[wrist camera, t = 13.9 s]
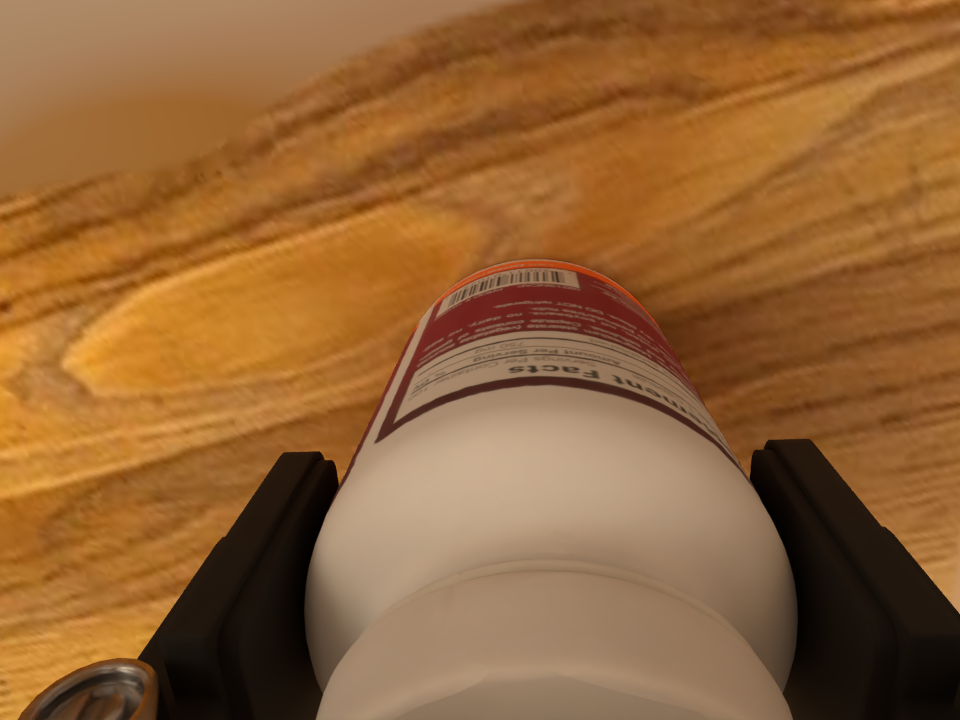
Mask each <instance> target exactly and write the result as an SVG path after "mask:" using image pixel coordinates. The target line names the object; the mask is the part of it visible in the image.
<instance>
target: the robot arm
mask: <svg viewBox="0 0 960 720" xmlns="http://www.w3.org/2000/svg"><path fill="white" fill-rule="evenodd" d="M750 481H751V483H752V485H753V486H754V488H755V490H756V492H757V493H758V495H759V497H760V499H761V501H762V504H763V505H764V507H765V509H766V510H767V512H768V514H769V515H770V517H771V519H772V521H773V523H774V525H775V528H776V530H777V532H778V534H779V536H780V538H781V541H782V543H783V545H784V547H785V550H786V553H787V556H788V559H789V562H790V565H791V569H792V573H793V577H794V581H795V588H796V596H797V608H798V627H797V642H796V650H795V655H794V659H793V663H792V667H791V670H790V673H789V677H788V680H787V683H786V686H785V688H784V691H783V693H782V694H783V696H784V698H785V700H786V702H787V704H788V706H789V709H790V712H791V715H792V718H793V720H960V614H959V613H958V611H957V610H956V609H955V608H954V607H953V605H952V604H951V603H950V602H949V600H948V599H947V598H946V597H945V596H944V594H943V593H942V592H941V591H940V590H939V588H938V587H937V586H936V585H935V584H934V582H933V581H932V580H931V579H930V578H929V576H928V575H927V574H926V573H925V572H924V570H923V569H922V568H921V567H920V566H919V564H918V563H917V562H916V561H915V559H914V558H913V557H912V556H911V555H910V553H909V552H908V551H907V550H906V549H905V547H904V546H903V545H902V544H901V543H900V541H899V540H898V539H897V538H896V537H895V535H894V534H893V533H892V532H891V531H889V530H888V529H887V528H886V527H882V526H881V525H880V524H879V523H878V521H877V520H876V519H875V518H874V517H873V515H872V514H871V513H870V512H869V510H868V509H867V508H866V507H865V506H864V504H863V503H862V502H861V501H860V499H859V498H858V497H857V496H856V495H855V493H854V492H853V491H852V490H851V488H850V487H849V486H848V485H847V484H846V482H845V481H844V480H843V479H842V477H841V476H840V475H839V474H838V473H837V471H836V470H835V469H834V468H833V466H832V465H831V464H830V463H829V461H828V460H827V459H826V458H825V457H824V455H823V454H822V453H821V452H820V450H819V449H818V448H817V447H816V446H815V444H814V443H813V442H812V441H811V440H810V439H785V440H768V441H767V442H766V445H765V447H764V450H755V451H754V452H753V455H752V460H751V472H750ZM338 487H339V483H338V477H337V470H336V466H335V463H334V462H333V461H332V460H324V457H323V455H322V453H321V452H319V451H318V452H285V453H283V454H282V455H281V456H280V457H279V459H278V460H277V462H276V463H275V465H274V466H273V467H272V469H271V470H270V472H269V473H268V475H267V476H266V478H265V479H264V481H263V482H262V484H261V485H260V487H259V488H258V490H257V491H256V492H255V494H254V495H253V497H252V498H251V500H250V501H249V503H248V504H247V506H246V507H245V509H244V510H243V512H242V513H241V515H240V516H239V517H238V519H237V520H236V522H235V523H234V525H233V526H232V528H231V529H230V531H229V532H228V534H227V535H226V537H223V538H222V539H221V540H220V541H219V542H218V543H217V544H216V545H215V547H214V548H213V550H212V551H211V553H210V554H209V556H208V557H207V558H206V560H205V561H204V563H203V564H202V566H201V567H200V569H199V570H198V572H197V573H196V574H195V576H194V577H193V579H192V580H191V582H190V583H189V585H188V586H187V587H186V589H185V590H184V592H183V593H182V595H181V596H180V598H179V599H178V601H177V602H176V603H175V605H174V606H173V608H172V609H171V611H170V612H169V614H168V615H167V617H166V618H165V619H164V621H163V622H162V624H161V625H160V627H159V628H158V630H157V631H156V632H155V634H154V635H153V637H152V638H151V640H150V641H149V643H148V644H147V646H146V647H145V648H144V650H143V651H142V653H141V654H140V656H139V657H138V659H127V658H116V659H110V660H104V661H99V662H96V663H93V664H90V665H88V666H85V667H82V668H79V669H77V670H75V671H73V672H71V673H70V674H68V675H66V676H64V677H62V678H61V679H59V680H57V681H55V682H54V683H53V684H52V685H50V686H49V687H48V688H46V689H45V690H44V691H43V692H41V693H40V694H39V695H37V696H36V697H35V699H34V700H33V701H32V702H31V703H30V704H29V705H28V706H27V708H26V709H25V710H24V711H23V712H22V713H21V715H20V717H19V719H18V720H316V717H317V713H318V710H319V706H320V703H321V700H322V697H323V693H322V691H321V688H320V686H319V684H318V682H317V680H316V676H315V672H314V669H313V665H312V662H311V658H310V653H309V649H308V645H307V641H306V634H305V619H304V603H305V589H306V580H307V574H308V569H309V565H310V561H311V557H312V553H313V550H314V546H315V543H316V540H317V538H318V535H319V533H320V530H321V528H322V525H323V522H324V519H325V516H326V514H327V512H328V510H329V507H330V505H331V503H332V500H333V498H334V496H335V494H336V492H337V490H338Z"/></svg>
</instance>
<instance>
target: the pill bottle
mask: <svg viewBox="0 0 960 720" xmlns="http://www.w3.org/2000/svg"><path fill="white" fill-rule="evenodd" d="M304 619H305V634H306V641H307V645H308V649H309V653H310V658H311V662H312V665H313V669H314V672H315V676H316V680H317V682H318V684H319V686H320V688H321V691H322V693H323V697H322V700H321V703H320V706H319V710H318V713H317V717H316V720H793V718H792V715H791V712H790V709H789V706H788V704H787V702H786V700H785V698H784V696H783V694H782V693H783V691H784V688H785V686H786V683H787V680H788V677H789V673H790V670H791V667H792V663H793V659H794V655H795V650H796V642H797V627H798V608H797V596H796V588H795V581H794V577H793V573H792V569H791V565H790V562H789V559H788V556H787V553H786V550H785V547H784V545H783V543H782V541H781V538H780V536H779V534H778V532H777V530H776V528H775V525H774V523H773V521H772V519H771V517H770V515H769V514H768V512H767V510H766V509H765V507H764V505H763V504H762V501H761V499H760V497H759V495H758V493H757V492H756V490H755V488H754V486H753V485H752V483H751V481H750V480H749V478H748V477H747V475H746V473H745V472H744V470H743V469H742V467H741V465H740V463H739V461H738V460H737V458H736V457H735V455H734V454H733V452H732V450H731V448H730V447H729V445H728V443H727V441H726V440H725V438H724V436H723V434H722V433H721V431H720V429H719V428H718V426H717V425H716V423H715V421H714V419H713V418H712V416H711V415H710V413H709V411H708V410H707V408H706V406H705V404H704V403H703V401H702V399H701V398H700V396H699V394H698V393H697V391H696V389H695V387H694V386H693V384H692V382H691V381H690V379H689V377H688V375H687V374H686V372H685V370H684V369H683V367H682V365H681V363H680V362H679V360H678V358H677V357H676V355H675V354H674V352H673V350H672V348H671V347H670V345H669V343H668V342H667V340H666V338H665V336H664V334H663V333H662V331H661V329H660V328H659V326H658V325H657V323H656V322H655V320H654V319H653V318H652V317H651V315H650V314H649V313H648V312H647V311H646V309H645V308H644V307H643V306H642V305H641V304H640V303H639V302H638V301H637V300H636V299H635V298H634V297H633V296H632V295H631V294H630V293H629V292H628V291H627V290H625V289H624V288H623V287H621V286H620V285H619V284H617V283H616V282H614V281H612V280H611V279H609V278H608V277H606V276H604V275H602V274H600V273H598V272H596V271H593V270H591V269H589V268H586V267H583V266H580V265H576V264H572V263H568V262H563V261H556V260H548V259H524V260H516V261H510V262H505V263H501V264H498V265H494V266H491V267H488V268H485V269H482V270H480V271H478V272H475V273H473V274H472V275H470V276H468V277H466V278H464V279H463V280H461V281H460V282H458V283H457V284H455V285H454V286H452V287H451V288H450V289H449V290H447V291H446V292H445V293H444V294H443V295H442V296H440V297H439V298H438V299H437V300H436V301H435V302H434V304H433V305H432V306H431V307H430V308H429V309H428V310H427V312H426V313H425V314H424V316H423V317H422V318H421V320H420V321H419V322H418V324H417V325H416V327H415V329H414V330H413V332H412V334H411V336H410V337H409V339H408V341H407V343H406V346H405V348H404V350H403V352H402V355H401V357H400V359H399V361H398V363H397V365H396V367H395V369H394V371H393V373H392V376H391V378H390V380H389V382H388V384H387V386H386V388H385V390H384V393H383V395H382V397H381V399H380V401H379V403H378V405H377V407H376V410H375V412H374V414H373V416H372V418H371V421H370V422H369V424H368V427H367V429H366V431H365V433H364V435H363V438H362V440H361V442H360V444H359V445H358V448H357V450H356V452H355V454H354V456H353V458H352V460H351V463H350V465H349V467H348V469H347V472H346V474H345V476H344V478H343V480H342V481H341V483H340V485H339V487H338V490H337V492H336V494H335V496H334V498H333V500H332V503H331V505H330V507H329V510H328V512H327V514H326V516H325V519H324V522H323V525H322V528H321V530H320V533H319V535H318V538H317V540H316V543H315V546H314V550H313V553H312V557H311V561H310V565H309V569H308V574H307V580H306V589H305V603H304Z"/></svg>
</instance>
